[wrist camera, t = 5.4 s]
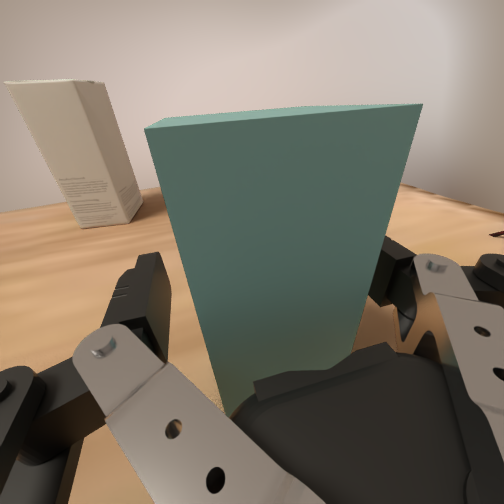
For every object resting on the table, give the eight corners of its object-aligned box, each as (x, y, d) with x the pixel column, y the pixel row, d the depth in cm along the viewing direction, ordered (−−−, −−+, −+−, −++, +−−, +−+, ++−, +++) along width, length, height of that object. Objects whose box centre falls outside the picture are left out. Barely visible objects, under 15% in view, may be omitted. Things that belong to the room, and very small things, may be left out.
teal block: (232, 439, 10) (143, 128, 3) (218, 342, 14) (165, 118, 8) (335, 404, 11) (423, 103, 4) (293, 323, 15) (305, 106, 8)
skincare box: (104, 206, 36) (51, 85, 28) (147, 202, 37) (107, 82, 28) (78, 230, 29) (-4, 79, 21) (131, 224, 30) (72, 74, 21)
